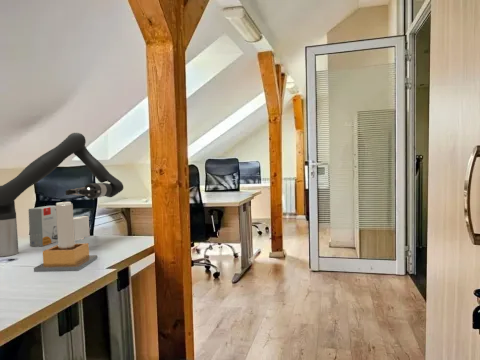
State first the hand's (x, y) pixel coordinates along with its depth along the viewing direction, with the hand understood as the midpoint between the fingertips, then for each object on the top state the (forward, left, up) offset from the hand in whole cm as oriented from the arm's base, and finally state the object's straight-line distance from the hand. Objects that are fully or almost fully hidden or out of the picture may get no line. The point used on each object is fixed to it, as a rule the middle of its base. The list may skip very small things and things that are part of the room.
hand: (74, 192), depth 172 cm
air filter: (+4, -18, -28) cm, 33 cm away
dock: (+4, -18, -29) cm, 34 cm away
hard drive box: (-30, +26, -29) cm, 49 cm away
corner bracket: (-18, +39, -29) cm, 52 cm away
